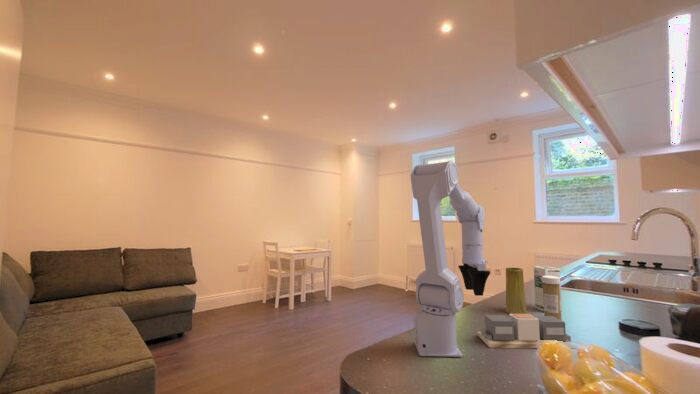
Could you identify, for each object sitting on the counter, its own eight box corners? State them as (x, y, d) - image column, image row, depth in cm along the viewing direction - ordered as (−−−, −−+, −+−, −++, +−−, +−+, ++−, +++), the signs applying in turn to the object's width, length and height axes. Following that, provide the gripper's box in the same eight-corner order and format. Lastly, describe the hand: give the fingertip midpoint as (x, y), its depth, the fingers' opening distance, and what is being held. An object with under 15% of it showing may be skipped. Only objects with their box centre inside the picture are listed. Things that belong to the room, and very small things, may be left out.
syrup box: (534, 308, 107) (532, 265, 109) (550, 307, 108) (547, 265, 109) (546, 313, 102) (544, 268, 103) (563, 312, 102) (560, 267, 104)
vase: (522, 310, 105) (520, 267, 106) (530, 315, 99) (527, 270, 100) (503, 309, 106) (501, 267, 107) (509, 314, 100) (507, 269, 101)
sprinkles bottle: (565, 323, 92) (562, 276, 93) (557, 326, 89) (555, 278, 90) (548, 319, 95) (545, 274, 96) (540, 321, 93) (538, 276, 94)
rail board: (489, 347, 74) (488, 323, 74) (477, 335, 82) (477, 313, 82) (577, 349, 73) (575, 324, 73) (556, 336, 81) (555, 314, 81)
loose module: (518, 340, 75) (517, 318, 76) (510, 333, 80) (509, 312, 80) (539, 340, 75) (538, 318, 75) (530, 334, 79) (528, 313, 80)
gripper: (496, 247, 84) (498, 298, 83) (477, 243, 98) (479, 287, 97) (469, 247, 84) (471, 298, 83) (454, 243, 99) (456, 286, 98)
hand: (474, 292), depth 90 cm, fingers open, 7 cm apart
